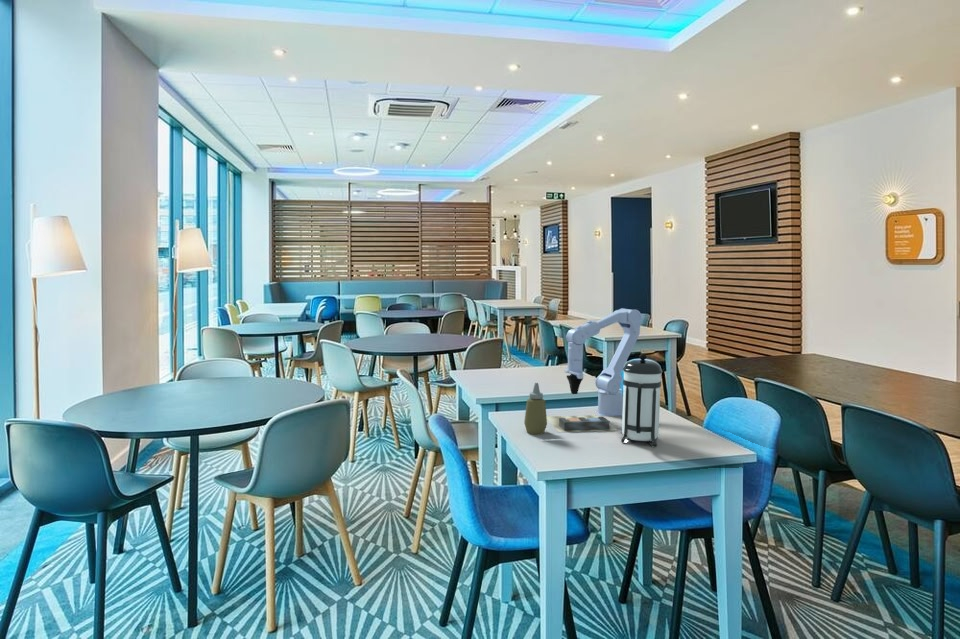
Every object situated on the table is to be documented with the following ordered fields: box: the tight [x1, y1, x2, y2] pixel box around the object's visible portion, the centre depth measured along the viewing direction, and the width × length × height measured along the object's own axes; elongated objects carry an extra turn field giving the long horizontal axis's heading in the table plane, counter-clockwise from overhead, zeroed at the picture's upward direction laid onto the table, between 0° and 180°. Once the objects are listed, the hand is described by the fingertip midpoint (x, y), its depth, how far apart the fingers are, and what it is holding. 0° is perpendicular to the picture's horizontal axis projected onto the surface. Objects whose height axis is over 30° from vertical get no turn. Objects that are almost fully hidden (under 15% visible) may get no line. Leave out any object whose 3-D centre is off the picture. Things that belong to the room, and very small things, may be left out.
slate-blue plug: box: [587, 418, 600, 421], centre depth 206 cm, size 4×4×3 cm
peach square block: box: [567, 418, 581, 421], centre depth 205 cm, size 4×4×3 cm
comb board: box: [546, 414, 618, 433], centre depth 211 cm, size 22×22×4 cm
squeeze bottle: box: [524, 382, 548, 435], centre depth 198 cm, size 8×8×18 cm
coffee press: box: [620, 353, 663, 447], centre depth 189 cm, size 17×16×30 cm
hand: (574, 393), depth 222 cm, fingers closed
